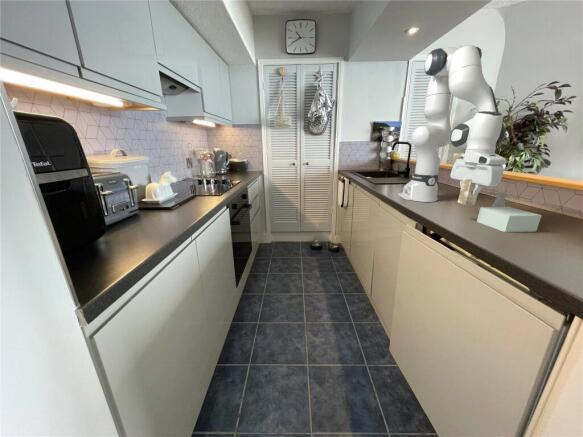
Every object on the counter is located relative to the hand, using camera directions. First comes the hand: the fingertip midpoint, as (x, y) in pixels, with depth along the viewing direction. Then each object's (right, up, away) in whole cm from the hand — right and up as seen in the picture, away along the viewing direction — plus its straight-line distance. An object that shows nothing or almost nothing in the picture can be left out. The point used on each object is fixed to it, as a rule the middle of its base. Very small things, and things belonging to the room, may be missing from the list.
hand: (468, 193), depth 93 cm
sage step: (+11, -13, -4) cm, 17 cm away
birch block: (0, -4, +1) cm, 4 cm away
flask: (+19, -9, +9) cm, 23 cm away
